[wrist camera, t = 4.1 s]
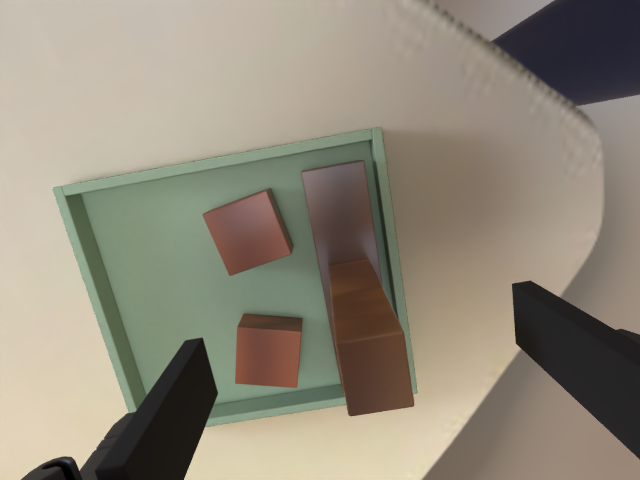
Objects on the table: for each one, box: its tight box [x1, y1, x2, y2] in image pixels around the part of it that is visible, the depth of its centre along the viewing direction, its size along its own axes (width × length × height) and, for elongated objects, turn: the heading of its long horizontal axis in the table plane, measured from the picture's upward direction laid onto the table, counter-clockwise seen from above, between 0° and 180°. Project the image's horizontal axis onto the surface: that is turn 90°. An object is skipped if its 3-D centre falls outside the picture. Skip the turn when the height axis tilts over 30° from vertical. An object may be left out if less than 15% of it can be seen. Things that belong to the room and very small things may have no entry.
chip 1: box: [202, 188, 294, 276], centre depth 22 cm, size 4×4×2 cm
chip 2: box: [235, 314, 303, 388], centre depth 24 cm, size 4×4×2 cm
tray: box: [52, 127, 417, 427], centre depth 24 cm, size 19×17×2 cm
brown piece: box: [301, 160, 414, 416], centre depth 18 cm, size 4×14×12 cm, turn 10°
